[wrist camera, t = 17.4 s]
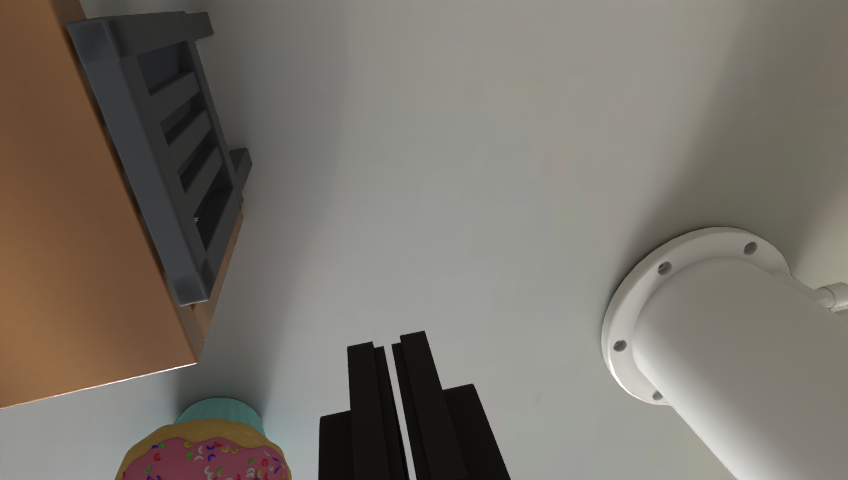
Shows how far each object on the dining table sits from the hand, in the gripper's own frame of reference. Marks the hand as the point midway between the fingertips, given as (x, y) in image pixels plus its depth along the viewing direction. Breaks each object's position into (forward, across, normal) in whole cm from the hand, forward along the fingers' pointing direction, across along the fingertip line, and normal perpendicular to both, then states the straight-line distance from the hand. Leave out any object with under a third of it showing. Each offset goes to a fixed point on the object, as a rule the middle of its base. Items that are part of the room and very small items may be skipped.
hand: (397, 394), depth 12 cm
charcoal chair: (+17, +8, -5) cm, 19 cm away
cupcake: (+17, +11, +14) cm, 24 cm away
